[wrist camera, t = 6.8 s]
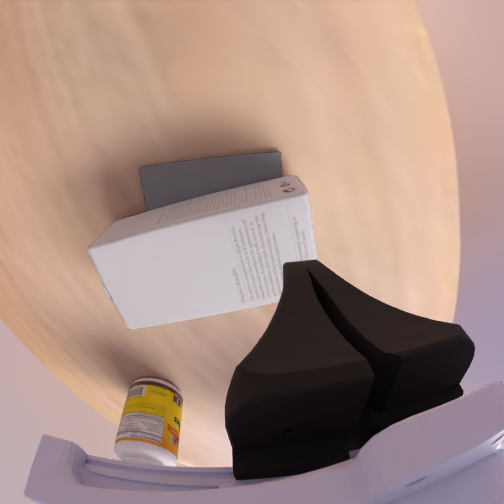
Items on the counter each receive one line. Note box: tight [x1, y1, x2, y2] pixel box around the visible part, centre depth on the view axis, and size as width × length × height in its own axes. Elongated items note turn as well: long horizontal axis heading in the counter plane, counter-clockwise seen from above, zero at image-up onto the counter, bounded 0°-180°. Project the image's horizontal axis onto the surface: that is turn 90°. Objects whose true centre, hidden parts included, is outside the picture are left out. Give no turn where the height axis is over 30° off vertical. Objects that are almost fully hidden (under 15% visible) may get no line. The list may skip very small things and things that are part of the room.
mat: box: [139, 152, 282, 211], centre depth 19 cm, size 9×8×1 cm
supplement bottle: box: [114, 378, 183, 466], centre depth 22 cm, size 6×6×10 cm
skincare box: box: [87, 175, 318, 330], centre depth 17 cm, size 6×4×12 cm
